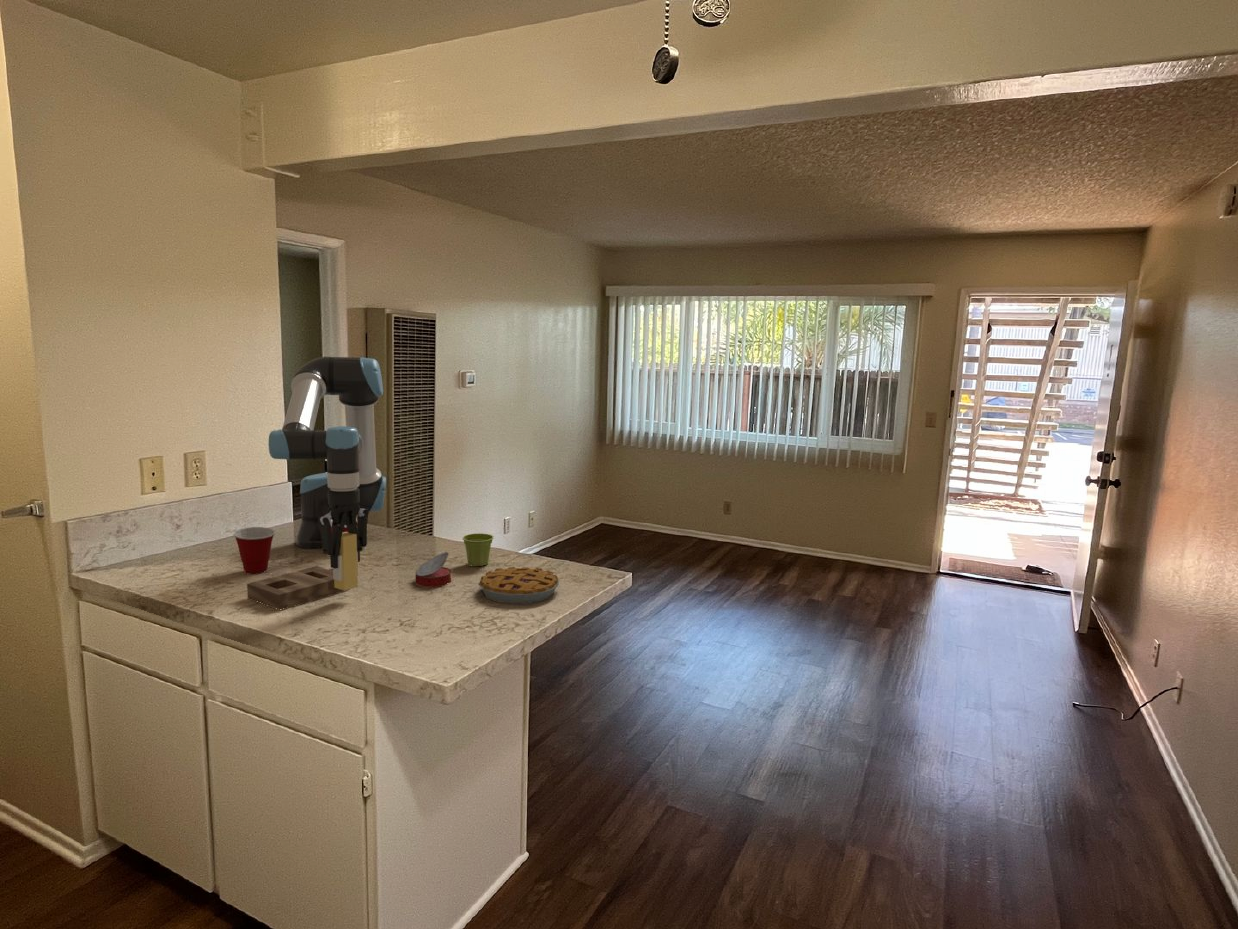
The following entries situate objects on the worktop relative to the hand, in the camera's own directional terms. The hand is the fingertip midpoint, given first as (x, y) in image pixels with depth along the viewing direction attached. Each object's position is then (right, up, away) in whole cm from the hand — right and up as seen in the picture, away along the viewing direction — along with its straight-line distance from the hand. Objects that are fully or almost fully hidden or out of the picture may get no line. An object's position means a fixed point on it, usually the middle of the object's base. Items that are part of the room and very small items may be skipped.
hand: (345, 577), depth 182 cm
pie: (+43, -6, +12) cm, 45 cm away
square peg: (0, -3, 0) cm, 3 cm away
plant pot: (+27, -2, +37) cm, 45 cm away
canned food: (+18, -5, +19) cm, 26 cm away
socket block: (-14, -5, +5) cm, 16 cm away
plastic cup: (-35, -2, +22) cm, 41 cm away
